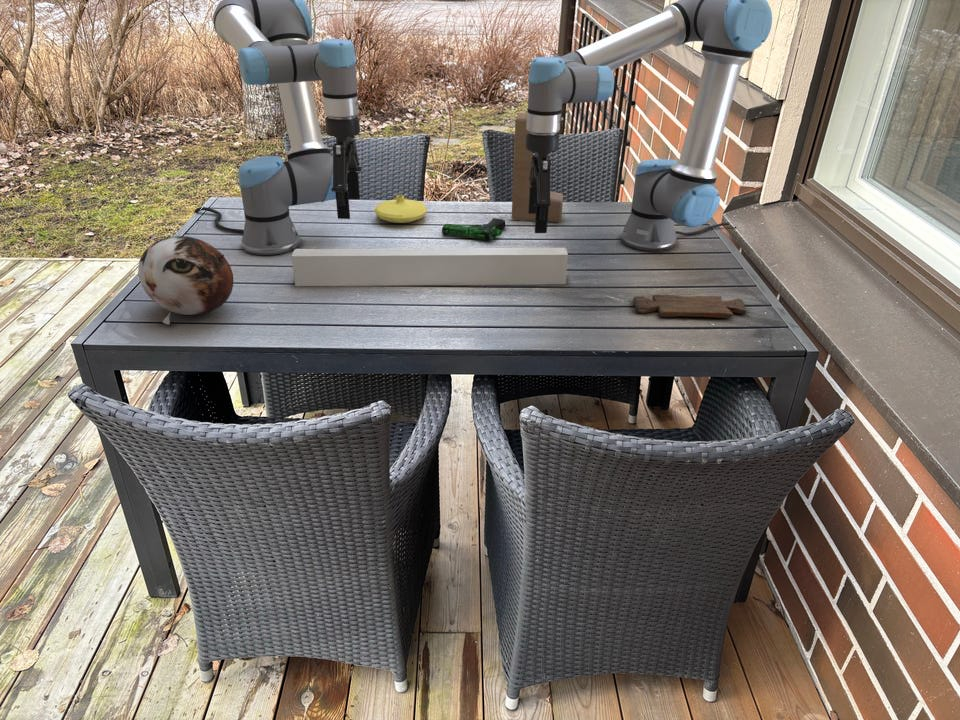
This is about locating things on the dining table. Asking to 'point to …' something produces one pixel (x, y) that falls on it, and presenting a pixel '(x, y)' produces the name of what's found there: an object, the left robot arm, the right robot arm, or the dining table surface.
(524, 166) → the decorative block
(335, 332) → the dining table surface
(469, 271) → the beam
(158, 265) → the eye print balloon
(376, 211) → the yellow pattypan squash
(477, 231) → the handgun
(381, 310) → the dining table surface
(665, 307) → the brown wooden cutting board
